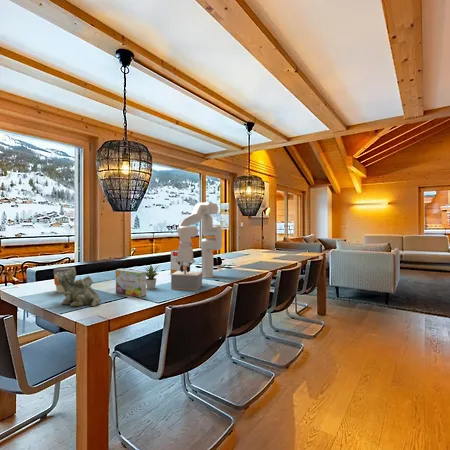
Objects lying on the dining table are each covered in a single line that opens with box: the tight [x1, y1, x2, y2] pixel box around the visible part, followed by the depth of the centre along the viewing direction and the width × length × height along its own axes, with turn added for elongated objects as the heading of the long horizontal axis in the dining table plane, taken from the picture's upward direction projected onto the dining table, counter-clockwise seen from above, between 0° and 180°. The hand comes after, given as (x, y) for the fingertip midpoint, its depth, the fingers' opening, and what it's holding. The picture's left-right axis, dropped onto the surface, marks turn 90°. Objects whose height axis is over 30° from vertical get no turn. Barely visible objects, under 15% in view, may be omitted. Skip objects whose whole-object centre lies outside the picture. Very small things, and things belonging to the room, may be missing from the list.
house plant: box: [143, 264, 162, 290], centre depth 201 cm, size 14×14×16 cm
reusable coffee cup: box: [53, 266, 76, 293], centre depth 190 cm, size 13×13×15 cm
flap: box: [170, 265, 202, 276], centre depth 204 cm, size 14×18×6 cm
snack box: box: [115, 267, 147, 298], centre depth 183 cm, size 21×6×15 cm, turn 62°
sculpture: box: [57, 266, 101, 307], centre depth 163 cm, size 16×27×20 cm, turn 72°
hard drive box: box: [170, 250, 188, 275], centre depth 251 cm, size 16×8×20 cm, turn 81°
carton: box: [170, 273, 203, 291], centre depth 204 cm, size 14×18×9 cm
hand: (185, 271), depth 199 cm, fingers closed on flap, 3 cm apart
